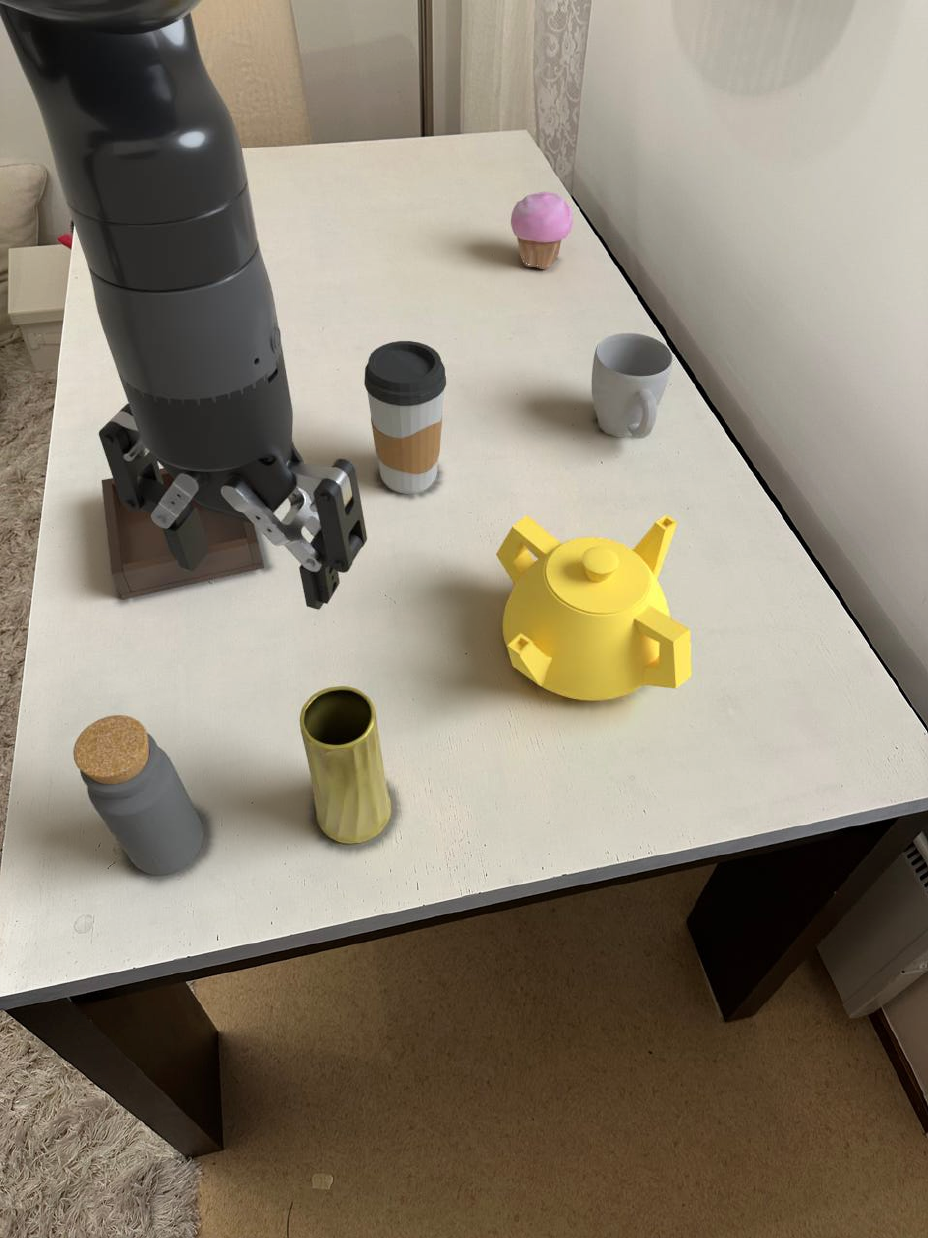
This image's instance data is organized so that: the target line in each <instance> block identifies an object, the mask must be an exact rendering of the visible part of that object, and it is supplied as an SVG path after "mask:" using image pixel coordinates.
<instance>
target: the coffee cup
mask: <svg viewBox="0 0 928 1238" xmlns="http://www.w3.org/2000/svg"><path fill="white" fill-rule="evenodd" d="M363 384H364V388H365V390H366V392H367V397H368V404H369V411H370V422H371V430H372V436H373V442H374V448H375V453H376V457H377V463H378V469H379V475H380V478H381V481H383V483H384V484H385V485H386V487H387V488H388V489H390V490H391V491H392V492H396V493H398V494H405V495H414V494H418V493H421V492H424V491H426V490H427V489H428V488H430V487H431V486H432V485H433V483H434V482H435V480H436V478H437V475H438V465H439V456H440V450H441V439H442V438H441V437H442V426H443V405H444V395H445V393H444V391H445V388H446V386H447V376H446V367H445V366H444V363H443V362H442V358H441V356H440V354H439V352H437V351H436V350H435V348H433V347H431V346H430V345H428V344H425V343H422V342H418V341H412V340H397V341H391V342H388V343H385V344H382V345H381V346H378V347H377V348H375V350H373V351H372V352H371V353H370V355H369V357H368V361H367V363H366V365H365V368H364V383H363Z"/></svg>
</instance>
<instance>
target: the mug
mask: <svg viewBox="0 0 928 1238" xmlns="http://www.w3.org/2000/svg"><path fill="white" fill-rule="evenodd" d="M673 357H674V356H673V354H672V352H671V350H670V348H669V347H668V346H666V345H665V344H664V343H663V342H662V341H660V340H659V339H657V338H654V337H653V336H649V335H647V334H642V333H636V332H634V333H633V332H622V333H616V334H612V335H609V336H607V337H606V338H604V339H602V340H601V341H600V342H599V343H598V344H597V346H596V347H595V351H594V355H593V359H592V369H591V397H592V403H593V408H594V412H595V414H596V417H597V422H598V426H599V428H600V429H601V430H602V431H603V432H604V433H606V434H608V435H610V436H612V437H616V438H631V437H633V438H634V439H645V438H646V437H648V436H649V435H650V434H651V433H652V431H653V429H654V427H655V424H656V420H657V415H658V406H659V405H660V403H661V401H662V398H663V396H664V394H665V391H666V388H667V386H668V383H669V379H670V376H671V372H672V368H673V362H674V358H673Z"/></svg>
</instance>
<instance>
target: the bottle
mask: <svg viewBox="0 0 928 1238" xmlns="http://www.w3.org/2000/svg"><path fill="white" fill-rule="evenodd" d="M73 760H74V763H75V765H76V768H78V769H79V773H80V777H81V779H82V781H83V783H84V784H85V786H86V790H87V796H88V798H89V801H90V803H91V805H92V806H93V807H94V810H95V811H96V812H97V814H98V815H99V817H100V818H101V819H102V821H103V822H104V824H105V825H106V827H107V828H108V830H109V831H110V832H111V834H112V835H113V837H114V838H115V840H116V841H117V843H118V844H119V845H120V846H121V848H122V850H123V851H124V852H125V854H126V856H127V857H128V858H129V859H130V861H131V862H132V863H133V865H135V867H136V868H137V869H139V871H141V872H143V873H144V874H148V875H151V876H160V877H161V876H168V875H172V874H175V873H177V872H180V871H181V870H183V869H184V868H186V867H187V866H189V865H190V864H191V863H192V862H193V861H194V860H195V859H196V857H197V856H198V854H200V851H201V849H202V847H203V844H204V840H205V839H204V838H205V833H204V832H205V831H204V826H203V823H202V820H201V818H200V816H199V814H198V812H197V810H196V808H195V806H194V803H193V802H192V800H191V797H190V795H189V793H188V791H187V789H186V787H185V785H184V783H183V782H182V779H181V778H180V775H179V773H178V771H177V770H176V768H175V766H174V763H173V762H172V760H171V758H170V757H169V755H168V754H167V753H166V751H165V750H164V749H162V748H161V747H160V746H158V744H157V742H156V740H155V739H154V737H153V736H152V734H150V733H148V732H147V729H146V727H145V726H144V725H143V723H141V722H140V720H139V719H138V720H137V718H135V717H132V716H128V715H123V714H116V715H108V716H105V717H103V718H100V719H97V720H96V721H94V722H92V723H90V724H89V725H88V726H86V727H85V728H84V729H83V731H82V732H81V733H80V734H79V736H78V737H77V739H76V741H75V744H74V747H73Z"/></svg>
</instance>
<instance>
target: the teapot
mask: <svg viewBox="0 0 928 1238" xmlns="http://www.w3.org/2000/svg"><path fill="white" fill-rule="evenodd" d="M677 526H678V521H676V520H675V519H674V518H673V517H671V516H670V515H668V514H665V515H664V516H662V517H660V518H659V519H657V520H656V521H655V522H654V523H653V525H652V526H651V527H650V528H649V530H648V531H646V533H645V535H644V536H643V537H642V538H641V539H640V540H639V542H638V543H637V544H636V545H635V546H634V547H633V549H632V548H629V547H628V546H627V545H624V544H623V543H620V542H618V541H615V540H613V539H609V538H604V537H598V536H586V537H585V536H583V537H577V538H574V539H571V540H568V541H565V542H563V543H562V542H561V541H560V540H559V539H557V538H556V537H554V536H553V535H552V534H551V533H550V532H549V531H547V530H546V529H545V528H543V527H542V526H541V525H540V524H539V523H537V522H536V521H535V520H534V519H533V518H531V517H530V516H529V515H527V514H526V515H524V517H522V518H521V519H520V520H519V521H518V522H516V523H515V524H514V525H513V526H511V528H510V530H509V532H508V533H507V535H506V537H504V540H503V542H502V543H501V544H500V547H499V548H498V550H497V552H496V553H495V556H496V557H497V559H498V561H499V562H500V564H501V565H502V567H503V568H504V570H505V572H506V573H507V575H508V576H509V578H510V580H511V582H512V583H513V584H514V586H513V587H512V590H511V592H510V594H509V597H508V600H507V603H506V605H505V608H504V612H503V617H502V636H503V640H504V644H505V646H506V649H507V651H508V655H509V658H510V662H511V665H512V667H513V668H514V669H516V670H517V671H519V673H521V674H523V675H524V676H525V677H527V678H528V679H529V680H531V681H533V682H534V683H535V684H537V685H538V686H540V687H542V688H544V689H545V690H547V691H549V692H551V693H554V694H557V695H559V696H562V697H566V698H569V699H574V700H579V701H591V702H592V701H595V702H596V701H606V700H614V699H616V698H621V697H624V696H625V695H629V694H631V693H634V692H635V691H637V690H638V689H640V688H642V687H643V686H649V687H650V686H651V687H658V688H667V689H675V690H676V689H677V688H679V687H680V686H682V685H683V683H685V682H686V681H687V680H689V679H690V678H691V677H692V675H693V673H692V672H693V669H692V668H693V667H692V646H691V629H690V628H689V627H687V626H685V625H684V624H683V623H681V622H679V621H677V620H676V619H674V618H672V617H671V616H670V609H669V606H668V602H667V598H666V595H665V593H664V591H663V589H662V587H661V584H660V583H659V581H658V579H659V576H660V573H661V570H662V568H663V565H664V563H665V559H666V557H667V553H668V551H669V548H670V545H671V543H672V540H673V536H674V534H675V532H676V528H677ZM530 552H531V554H532V555H533V556H534V557H535V558H537V560H534V558H533V556H532V555H531V554H530Z"/></svg>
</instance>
